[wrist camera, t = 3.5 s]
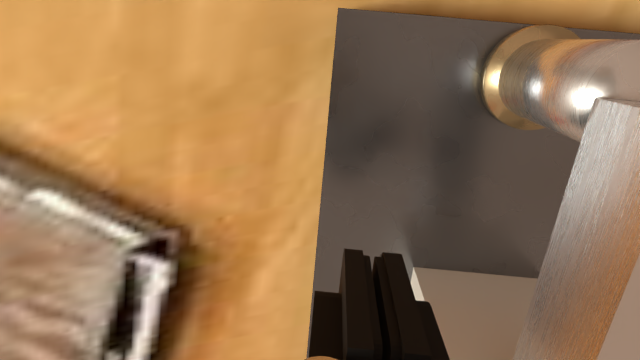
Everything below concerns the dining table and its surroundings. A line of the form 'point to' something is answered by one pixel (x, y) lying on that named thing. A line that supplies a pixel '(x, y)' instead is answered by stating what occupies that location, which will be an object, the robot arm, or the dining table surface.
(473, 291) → the cover cap
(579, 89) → the white bent handle
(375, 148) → the base plate
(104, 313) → the dining table surface
